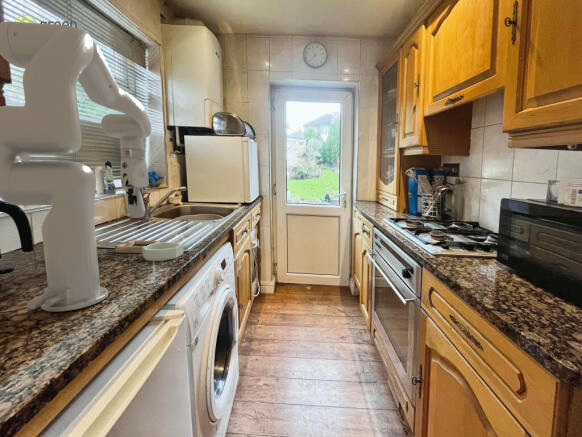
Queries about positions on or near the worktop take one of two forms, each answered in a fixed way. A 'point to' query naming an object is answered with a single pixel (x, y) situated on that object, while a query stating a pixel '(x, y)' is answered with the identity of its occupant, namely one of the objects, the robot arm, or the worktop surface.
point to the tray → (129, 249)
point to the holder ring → (162, 251)
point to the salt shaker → (140, 208)
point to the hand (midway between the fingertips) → (136, 205)
